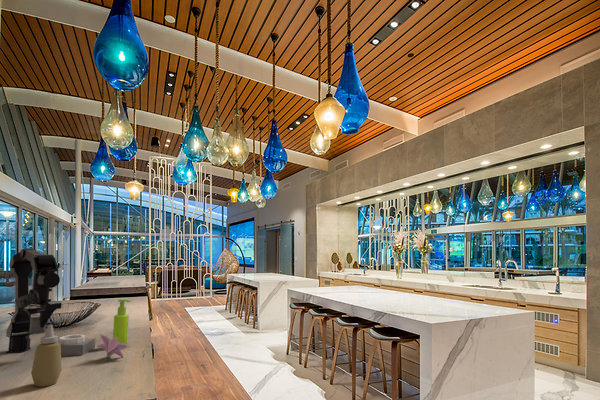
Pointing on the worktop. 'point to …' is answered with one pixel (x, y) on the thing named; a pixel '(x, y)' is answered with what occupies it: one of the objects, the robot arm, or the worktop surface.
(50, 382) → the squeeze bottle
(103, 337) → the lily
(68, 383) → the worktop surface
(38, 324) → the grey block
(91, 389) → the worktop surface
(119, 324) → the soap dispenser
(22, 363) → the worktop surface
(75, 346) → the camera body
